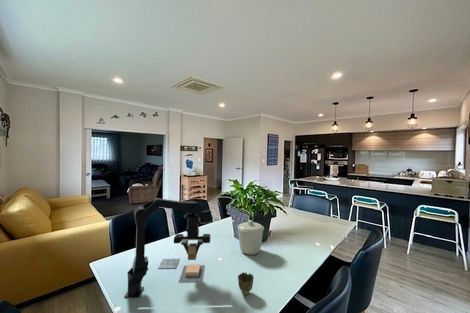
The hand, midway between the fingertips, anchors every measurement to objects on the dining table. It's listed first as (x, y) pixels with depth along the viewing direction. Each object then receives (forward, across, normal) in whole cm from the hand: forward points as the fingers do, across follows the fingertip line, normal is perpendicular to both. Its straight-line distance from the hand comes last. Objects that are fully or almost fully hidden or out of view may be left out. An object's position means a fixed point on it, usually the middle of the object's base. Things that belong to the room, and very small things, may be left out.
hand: (192, 254), depth 110 cm
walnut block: (+2, 0, 0) cm, 2 cm away
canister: (+12, -35, -28) cm, 46 cm away
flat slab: (+10, 0, +1) cm, 10 cm away
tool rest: (+12, +15, -12) cm, 22 cm away
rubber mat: (+12, 0, -2) cm, 12 cm away
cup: (+12, -27, +14) cm, 33 cm away
